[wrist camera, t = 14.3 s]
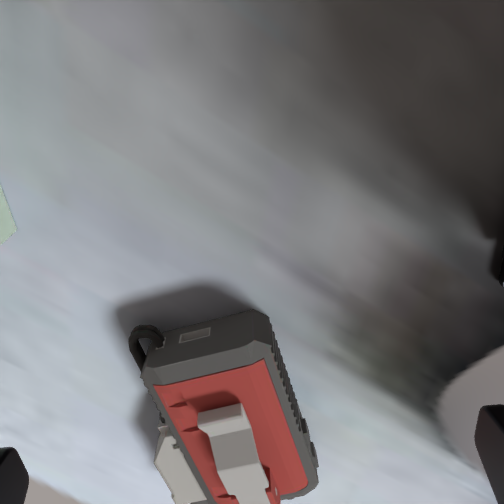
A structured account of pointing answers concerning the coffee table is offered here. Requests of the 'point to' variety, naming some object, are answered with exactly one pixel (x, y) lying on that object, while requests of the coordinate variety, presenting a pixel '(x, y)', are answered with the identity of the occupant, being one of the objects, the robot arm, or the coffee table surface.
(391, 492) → the coffee table surface
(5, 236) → the stand
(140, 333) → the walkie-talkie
